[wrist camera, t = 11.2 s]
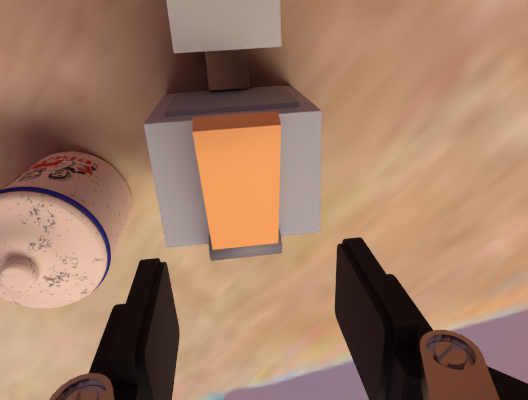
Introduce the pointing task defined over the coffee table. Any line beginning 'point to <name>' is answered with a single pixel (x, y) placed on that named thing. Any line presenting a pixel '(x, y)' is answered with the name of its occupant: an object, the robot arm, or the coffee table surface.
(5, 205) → the teacup with lid
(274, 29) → the block
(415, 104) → the coffee table surface
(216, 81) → the rail
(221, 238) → the lever
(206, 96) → the cabinet
